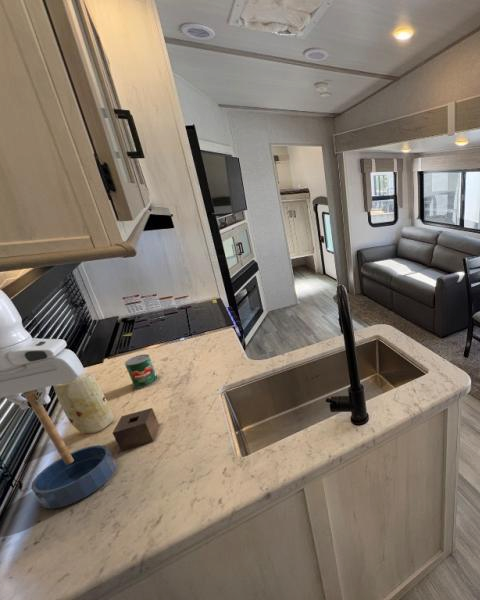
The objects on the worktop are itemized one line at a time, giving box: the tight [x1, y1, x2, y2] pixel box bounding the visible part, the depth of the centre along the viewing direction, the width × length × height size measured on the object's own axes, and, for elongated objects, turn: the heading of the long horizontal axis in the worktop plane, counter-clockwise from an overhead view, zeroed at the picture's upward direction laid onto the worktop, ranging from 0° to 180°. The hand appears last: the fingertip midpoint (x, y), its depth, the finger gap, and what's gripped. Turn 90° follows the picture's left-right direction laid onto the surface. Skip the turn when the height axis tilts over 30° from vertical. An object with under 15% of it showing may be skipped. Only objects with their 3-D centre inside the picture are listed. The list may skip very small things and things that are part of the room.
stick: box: [23, 390, 74, 465], centre depth 76 cm, size 2×2×22 cm
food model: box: [53, 372, 115, 434], centre depth 99 cm, size 10×7×20 cm
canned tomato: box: [124, 353, 159, 389], centre depth 125 cm, size 8×8×11 cm
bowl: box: [30, 444, 117, 510], centre depth 81 cm, size 14×14×6 cm
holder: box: [112, 407, 160, 452], centre depth 96 cm, size 8×8×7 cm
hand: (37, 405), depth 73 cm, fingers closed on stick, 1 cm apart
